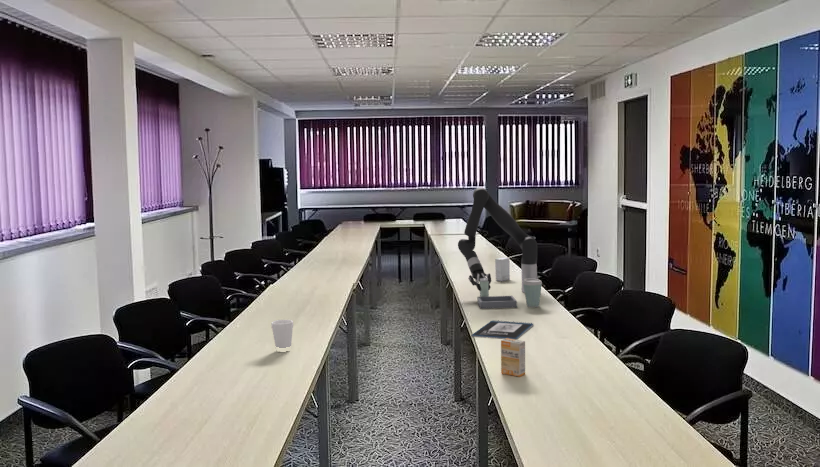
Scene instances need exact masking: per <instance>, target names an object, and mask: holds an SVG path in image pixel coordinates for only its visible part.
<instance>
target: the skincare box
mask: <svg viewBox="0 0 820 467" xmlns="http://www.w3.org/2000/svg"><path fill="white" fill-rule="evenodd" d="M494 260H495V261H494V262H495V268H494V269H495V281H498V282H504V281H508V280H510V279H511V278H510V277H511V275H510V258H509V257H505V256H503V257H499V258H494Z"/></svg>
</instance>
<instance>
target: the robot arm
mask: <svg viewBox="0 0 820 467" xmlns="http://www.w3.org/2000/svg"><path fill="white" fill-rule="evenodd" d="M472 198H473V202H472V208H471V211H470V214H469V217H468V219H467V223H466V225H465V228H464V232H463V233H464V235H465V236H467V237H468V239H465V238H462V239H459V241H458V242H457V246H458V247H457V248H458V250H459V251H460V253H461V254H462V256H463V257H464V258H465V261H466V263H467V267H468V269H469V271H470V274H471V275H468V281H469V283H470V284H471V285H472V286H475V287H476V288H477V290H478V291H479V292H480V291H481V287H480V284H479V281H480V278H488V284H489V291H490V290H491V288H492V287H491V285H490V284H491V282H492V277H491V276H492V275H491V273H486V272H485V269H484V267H483V265H482V263H481V260H480V258H479V256H478V255H477V252H476V251H475V248H476V236H477V232H478V228H479V225H480V224H479V223H480V221H481V216H482V213H483V212H484V211H483V210H484V209H485V210H486V211H487V212H488V214H489V215H490V216H491V219H492V220H494V221H495V223H496V224H497V225H498V226H499V227H500V228H501V229H502V230H503V231H504V232H505V233H506V234H508V235H509V236H510V237H511V238H512V239H513V240H514V241H515V242H516V244H517V245H518V246H519V247H520V249H521V250H522V251H521V253H522V255H521V260H520V262H521V263H520V264H521V266H520V267H521V292H522V293H525V291H524V285H523V281H524V279H526V278H532V279H539V276H538V266H537V263H538V242H537V241H536V239H534V238H533V237H531V236H529V235H528V234H527V233H526V232H525V231H524V230H523V229H522V228H521V227H520V225H519V224H518V223H517V221H516V220H515V218H514V217H513V216H512V215H511V214H510V213H509V212H508V211H507V210H505V209H504V208H503V206H501V205H500V204H499V203H498V202H496V200H494V199H493V197H492V196H491V195H490V193H489V192H488V190H486V189H485V188H484V187H477V188H475V189H474V190H473V192H472Z"/></svg>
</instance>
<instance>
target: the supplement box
mask: <svg viewBox="0 0 820 467" xmlns="http://www.w3.org/2000/svg"><path fill="white" fill-rule="evenodd" d="M500 365H501V366H500V371H501V372H500V373H502V375H508V376H514V377H518V378H521V377H522V376H524V375H526V341H525V340H519V339H517V340H514V339H509V338H506V339H500Z"/></svg>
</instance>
